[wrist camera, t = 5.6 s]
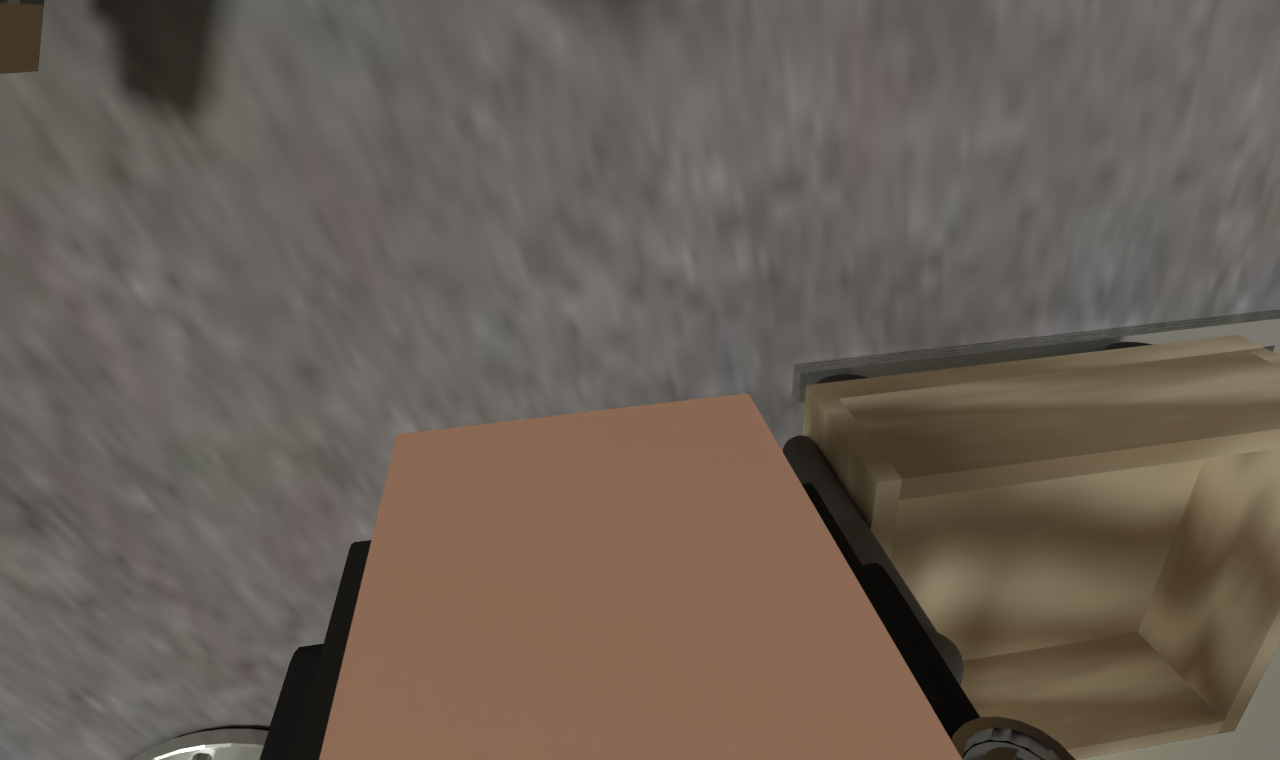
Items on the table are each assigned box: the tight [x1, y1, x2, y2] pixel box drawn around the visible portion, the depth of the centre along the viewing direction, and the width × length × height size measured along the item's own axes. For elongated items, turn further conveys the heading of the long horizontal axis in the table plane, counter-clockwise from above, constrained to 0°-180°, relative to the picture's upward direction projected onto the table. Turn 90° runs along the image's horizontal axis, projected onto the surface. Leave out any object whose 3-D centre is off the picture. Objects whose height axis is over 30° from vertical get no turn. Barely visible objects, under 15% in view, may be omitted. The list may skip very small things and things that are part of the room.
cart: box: [783, 335, 1280, 760], centre depth 29 cm, size 16×19×15 cm
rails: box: [793, 310, 1280, 402], centre depth 37 cm, size 13×26×1 cm, turn 93°
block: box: [319, 393, 962, 760], centre depth 9 cm, size 5×5×7 cm
